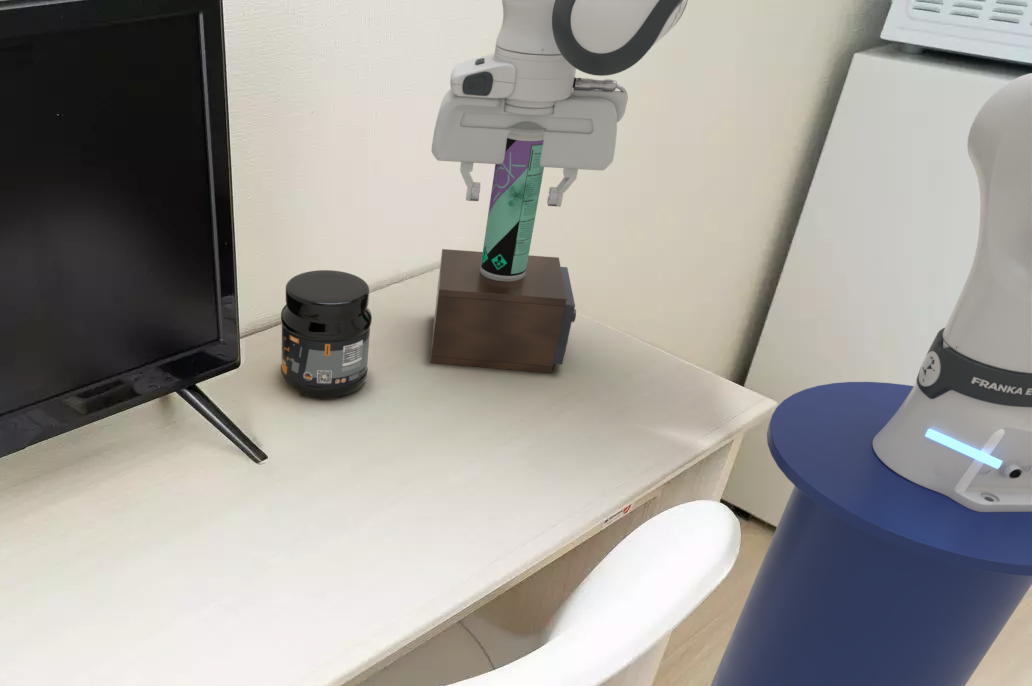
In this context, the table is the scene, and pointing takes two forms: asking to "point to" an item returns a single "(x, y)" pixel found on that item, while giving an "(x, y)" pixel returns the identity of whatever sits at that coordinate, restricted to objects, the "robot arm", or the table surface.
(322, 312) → the supplement container
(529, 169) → the spray can
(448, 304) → the cabinet
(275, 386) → the table surface
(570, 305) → the drawer
